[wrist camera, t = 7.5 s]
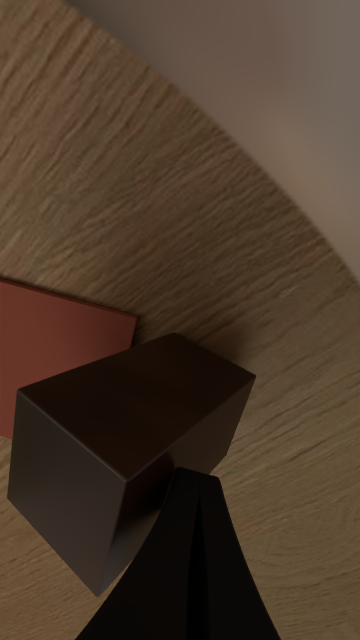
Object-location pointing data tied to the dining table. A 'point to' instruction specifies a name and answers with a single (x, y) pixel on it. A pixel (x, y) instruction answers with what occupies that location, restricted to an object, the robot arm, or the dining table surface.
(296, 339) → the dining table surface
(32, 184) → the dining table surface
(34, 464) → the walnut block
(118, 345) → the terracotta mat
